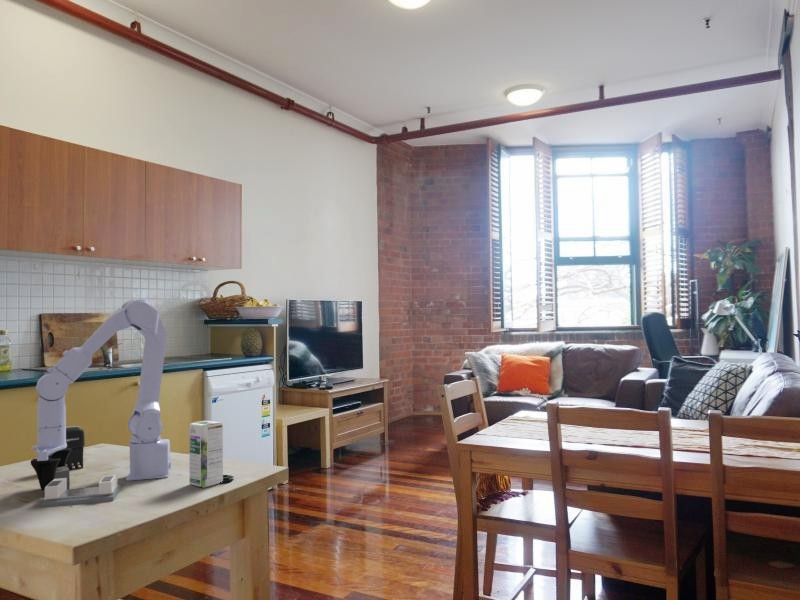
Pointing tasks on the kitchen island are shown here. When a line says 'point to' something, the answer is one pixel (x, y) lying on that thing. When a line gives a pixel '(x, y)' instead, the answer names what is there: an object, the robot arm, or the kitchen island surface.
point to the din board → (81, 497)
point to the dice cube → (62, 475)
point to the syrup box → (206, 453)
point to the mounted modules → (60, 486)
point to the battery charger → (75, 447)
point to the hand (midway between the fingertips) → (51, 485)
